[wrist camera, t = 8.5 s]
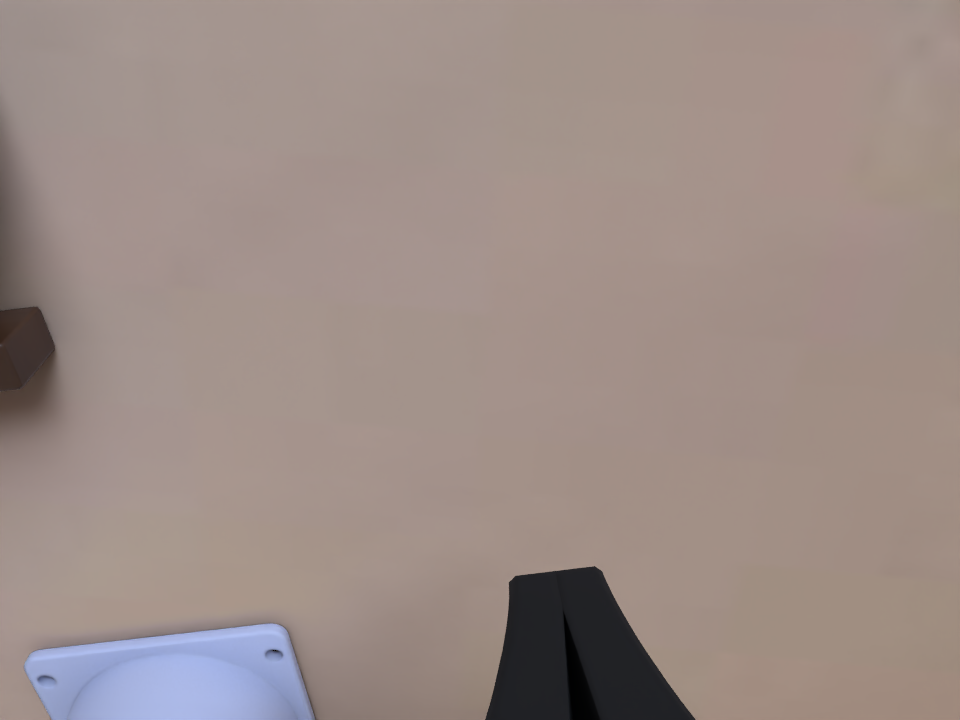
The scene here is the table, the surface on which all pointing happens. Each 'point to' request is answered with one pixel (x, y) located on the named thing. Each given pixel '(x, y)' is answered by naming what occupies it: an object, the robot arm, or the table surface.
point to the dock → (22, 346)
